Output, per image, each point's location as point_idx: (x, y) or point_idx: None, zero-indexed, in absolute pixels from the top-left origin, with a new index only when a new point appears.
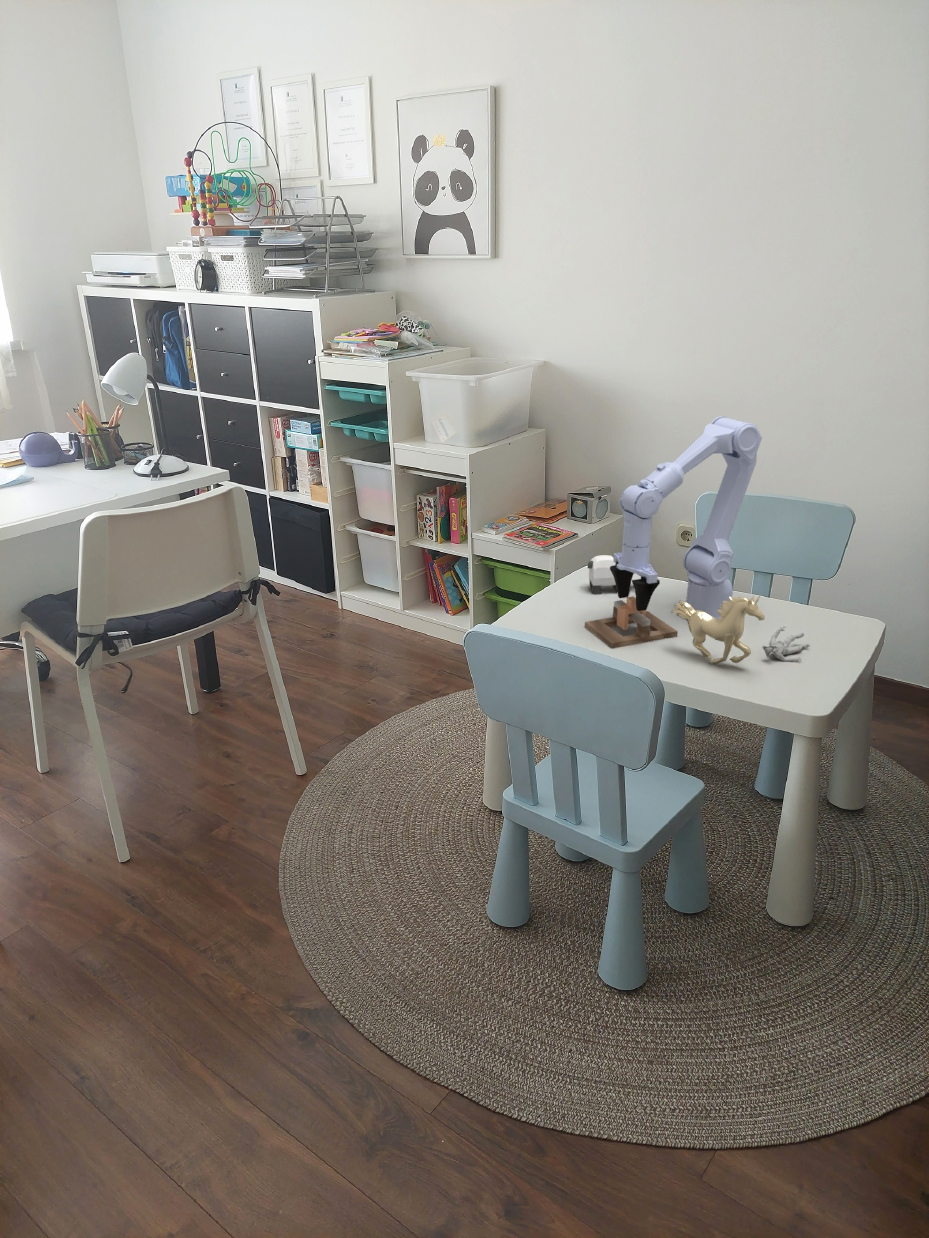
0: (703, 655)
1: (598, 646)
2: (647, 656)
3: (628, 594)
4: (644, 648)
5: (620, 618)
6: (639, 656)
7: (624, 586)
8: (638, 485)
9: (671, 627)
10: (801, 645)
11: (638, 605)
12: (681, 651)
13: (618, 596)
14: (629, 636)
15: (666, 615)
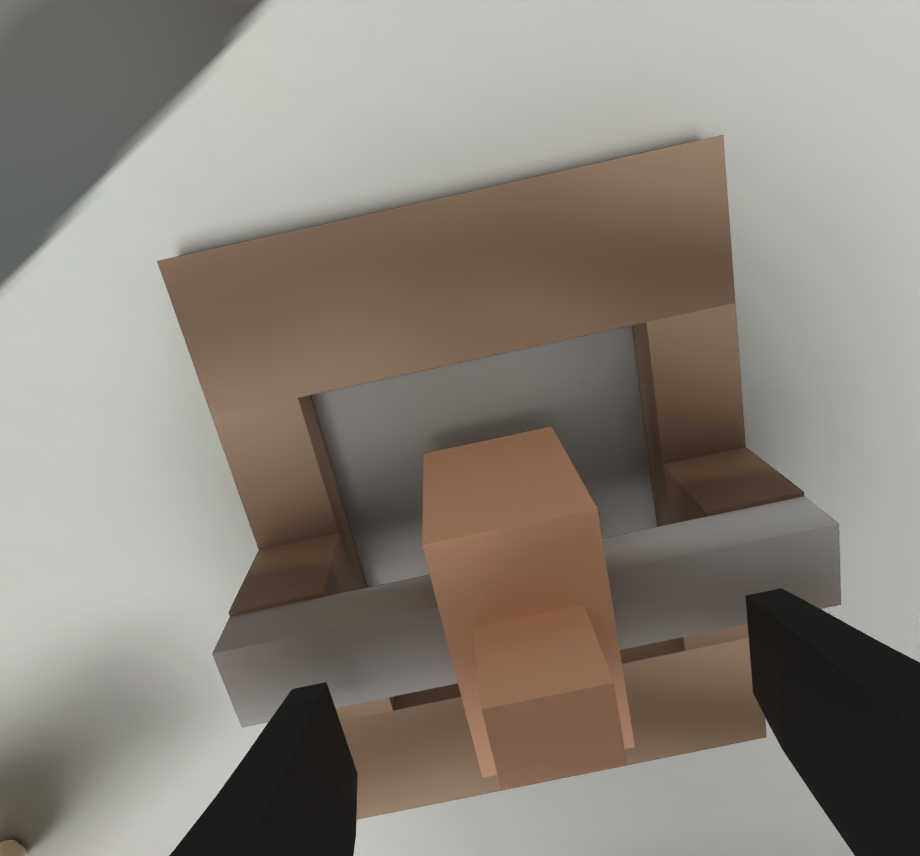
0: (3, 844)
1: (235, 140)
2: (12, 501)
3: (771, 723)
4: (168, 523)
5: (499, 473)
6: (10, 441)
7: (853, 772)
8: None
9: (426, 801)
10: None
11: (251, 748)
12: (105, 742)
13: (784, 594)
14: (299, 464)
15: (714, 815)
